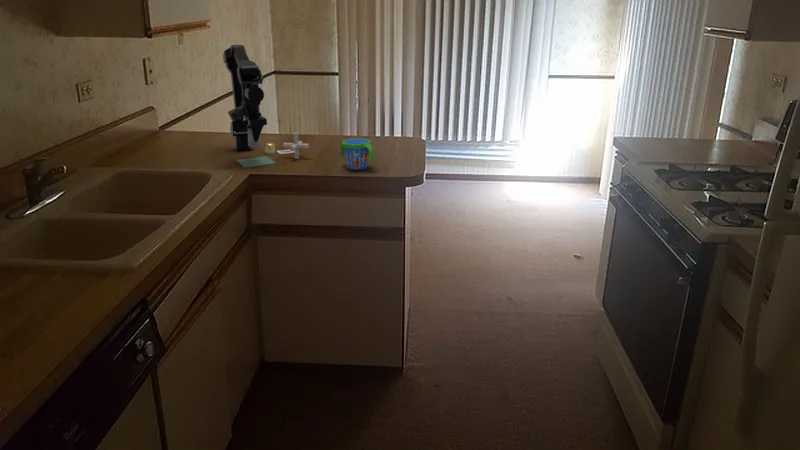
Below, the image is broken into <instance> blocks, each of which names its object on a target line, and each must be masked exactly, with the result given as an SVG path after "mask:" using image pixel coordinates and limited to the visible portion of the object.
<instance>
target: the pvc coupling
mask: <svg viewBox="0 0 800 450" xmlns="http://www.w3.org/2000/svg"><path fill="white" fill-rule="evenodd" d="M261 145H262V142H261V135H260V136H259V139H258V141H257V142H254V138H253V134H252V130H251V128H249V129H248V146H250V147H252V148H257V147H260V146H261Z"/></svg>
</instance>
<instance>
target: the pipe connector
mask: <svg viewBox="0 0 800 450" xmlns="http://www.w3.org/2000/svg"><path fill="white" fill-rule="evenodd" d="M292 137H293V139H292V140H293V142H283V148H289V149H290V150H291V151H293V150H294V160H295V159H296V160H297V159H300V149H309V148H310V144H309V143H304V142H303V141H302V140H299V132H293V133H292ZM289 149H288V150H289Z"/></svg>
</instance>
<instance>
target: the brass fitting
mask: <svg viewBox="0 0 800 450" xmlns="http://www.w3.org/2000/svg"><path fill="white" fill-rule="evenodd" d="M264 153H265V155H269V156H270V155H275V154H276V144H275V142H266V143H264Z"/></svg>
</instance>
